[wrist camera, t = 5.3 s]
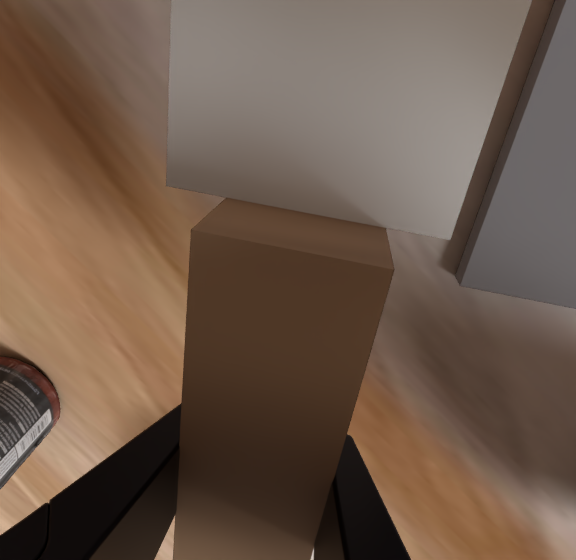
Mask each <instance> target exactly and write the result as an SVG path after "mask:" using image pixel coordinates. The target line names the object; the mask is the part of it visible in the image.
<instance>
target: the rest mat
mask: <svg viewBox="0 0 576 560" xmlns="http://www.w3.org/2000/svg"><path fill="white" fill-rule="evenodd" d="M455 277H456V279H457V281H458V283H459V285H460V286H463V287H468V288H473V289H478V290H483V291H488V292H493V293H499V294H504V295H509V296H514V297H519V298H524V299H529V300H534V301H539V302H544V303H549V304H554V305H559V306H564V307H569V308H574V309H576V0H555V2H554V5H553V7H552V10H551V13H550V16H549V18H548V21H547V24H546V27H545V29H544V32H543V35H542V38H541V40H540V43H539V46H538V49H537V51H536V54H535V57H534V60H533V63H532V65H531V68H530V71H529V74H528V76H527V79H526V82H525V85H524V87H523V90H522V93H521V96H520V98H519V101H518V104H517V107H516V109H515V112H514V115H513V118H512V120H511V123H510V126H509V129H508V132H507V134H506V137H505V140H504V143H503V145H502V148H501V151H500V154H499V156H498V159H497V162H496V165H495V167H494V170H493V173H492V176H491V178H490V181H489V184H488V187H487V190H486V192H485V195H484V198H483V201H482V203H481V206H480V209H479V212H478V214H477V217H476V220H475V223H474V225H473V228H472V231H471V234H470V236H469V239H468V242H467V245H466V247H465V250H464V253H463V256H462V259H461V261H460V264H459V267H458V270H457V272H456V275H455Z"/></svg>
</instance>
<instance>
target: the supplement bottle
mask: <svg viewBox="0 0 576 560" xmlns="http://www.w3.org/2000/svg"><path fill="white" fill-rule="evenodd" d="M59 416H60V402H59V398H58V394H57V393H56V390H55V388H54V387H53V386H52V385H51V383H50V382H49V381H48V380H47V378H46V377H44V376H43V375H42V374H41V373H40V372H39V371H38V370H36V369H35V368H34V367H33V366H30V365H28V364H26V363H24V362H21V361H19V360H16V359H13V358H8V357H0V489H1V488H2V487H3V486H4V485H5V484H6V483H7V481H8V480H9V479H10V478H11V476H12V475H13V474H14V473H15V472H16V471H17V469H18V468H19V467H20V466H21V465H22V463H23V462H24V461H25V460H26V459H27V458H28V457H29V456H30V454H31V453H32V452H33V451H34V449H35V448H36V447H37V446H38V445H39V444H40V443H41V442H42V440H43V439H44V438H45V437H46V436H47V435H48V433H49V432H50V431H51V429H52V428H53V427H54V425H55V424H56V422H57V420H58V419H59Z"/></svg>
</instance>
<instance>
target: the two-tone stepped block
mask: <svg viewBox="0 0 576 560" xmlns="http://www.w3.org/2000/svg"><path fill="white" fill-rule="evenodd" d="M531 2H532V0H171V25H170V62H169V100H168V137H167V174H166V186H168V187H174V188H179V189H184V190H189V191H195V192H200V193H205V194H210V195H216V196H221V197H226V199H225V200H223V201H222V202H221V203H220V204H219V205H218V206H217V207H216V208H215V209H213V210H212V211H211V212H210V213H209V214H208V215H207V216H206V217H205V218H204V219H202V220H201V221H200V222H199V223H198V224H197V225H196V226H195V227H194V228H192V229H191V242H190V260H189V278H188V296H187V314H186V332H185V350H184V368H183V387H182V405H181V423H180V441H179V446H180V457H179V475H178V493H177V510H176V514H175V531H174V549H173V560H310V559H311V556H312V553H313V549H314V543H315V539H316V536H317V532H318V529H319V525H320V522H321V518H322V515H323V511H324V508H325V504H326V501H327V497H328V494H329V491H330V487H331V484H332V482H333V480H334V477H335V473H336V470H337V466H338V463H339V459H340V456H341V452H342V449H343V445H344V442H345V439H346V435H347V432H348V428H349V425H350V421H351V418H352V414H353V411H354V407H355V404H356V401H357V397H358V394H359V390H360V387H361V383H362V380H363V376H364V373H365V370H366V366H367V363H368V359H369V356H370V352H371V349H372V345H373V342H374V338H375V335H376V332H377V328H378V325H379V321H380V318H381V314H382V311H383V307H384V304H385V300H386V297H387V294H388V290H389V287H390V283H391V280H392V276H393V273H394V265H393V261H392V256H391V251H390V246H389V242H388V237H387V232H386V228H389V229H394V230H399V231H404V232H410V233H415V234H420V235H425V236H431V237H436V238H441V239H446V240H450V239H451V236H452V233H453V230H454V228H455V225H456V222H457V219H458V216H459V213H460V210H461V207H462V204H463V201H464V198H465V195H466V192H467V190H468V187H469V184H470V181H471V178H472V175H473V172H474V169H475V166H476V163H477V160H478V157H479V154H480V151H481V149H482V146H483V143H484V140H485V137H486V134H487V131H488V128H489V125H490V122H491V119H492V116H493V113H494V111H495V108H496V105H497V102H498V99H499V96H500V93H501V90H502V87H503V84H504V81H505V78H506V75H507V72H508V70H509V67H510V64H511V61H512V58H513V55H514V52H515V49H516V46H517V43H518V40H519V37H520V34H521V31H522V29H523V26H524V23H525V20H526V17H527V14H528V11H529V8H530V5H531Z"/></svg>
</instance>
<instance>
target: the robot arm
mask: <svg viewBox="0 0 576 560" xmlns="http://www.w3.org/2000/svg"><path fill="white" fill-rule="evenodd" d="M181 405H182V403H181V404H180V405H178V406H177V407H176V408H174V409H173V410H172V411H170V412H169V413H168V414H166V415H165V416H163V417H162V418H161V419H159V420H158V421H157V422H155V423H154V424H153V425H151V426H150V427H148V428H147V429H146V430H144V431H143V432H142V433H140V434H139V435H138V436H136V437H135V438H133V439H132V440H131V441H129V442H128V443H127V444H125V445H124V446H123V447H121V448H120V449H119V450H117V451H116V452H114V453H113V454H112V455H110V456H109V457H108V458H106V459H105V460H104V461H102V462H101V463H99V464H98V465H97V466H95V467H94V468H93V469H91V470H90V471H89V472H87V473H86V474H85V475H83V476H82V477H80V478H79V479H78V480H76V481H75V482H74V483H72V484H71V485H70V486H68V487H67V488H65V489H64V490H63V491H61V492H60V493H59V494H57V495H56V496H55V497H53V498H52V499H51V500H50V502H49V503H45V504H43V505H42V506H41V507H39V508H38V509H37V510H35V511H34V512H33V513H31V514H30V515H28V516H27V517H26V518H24V519H23V520H21V521H20V522H19V523H17V524H16V525H14V526H13V527H11V528H10V529H9V530H7V531H6V532H4V533H3V534H1V535H0V560H154V559H155V557H156V554H157V552H158V550H159V548H160V546H161V544H162V542H163V540H164V537H165V535H166V533H167V531H168V529H169V527H170V525H171V522H172V520H173V518H174V516H175V514H176V510H177V493H178V475H179V457H180V446H179V441H180V423H181ZM314 560H411V559H410V556H409V554H408V552H407V550H406V548H405V546H404V544H403V542H402V540H401V538H400V536H399V534H398V532H397V530H396V527H395V525H394V523H393V521H392V519H391V517H390V515H389V513H388V511H387V509H386V507H385V505H384V503H383V500H382V498H381V496H380V494H379V492H378V490H377V488H376V486H375V484H374V482H373V480H372V478H371V476H370V473H369V471H368V469H367V467H366V465H365V463H364V461H363V459H362V457H361V455H360V453H359V451H358V449H357V446H356V444H355V442H354V440H353V438H352V437H351V436H350V435H346V439H345V442H344V445H343V449H342V452H341V456H340V459H339V463H338V466H337V470H336V473H335V477H334V480H333V482H332V484H331V487H330V491H329V494H328V497H327V501H326V504H325V508H324V511H323V515H322V518H321V522H320V525H319V529H318V532H317V536H316V539H315V543H314Z"/></svg>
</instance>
